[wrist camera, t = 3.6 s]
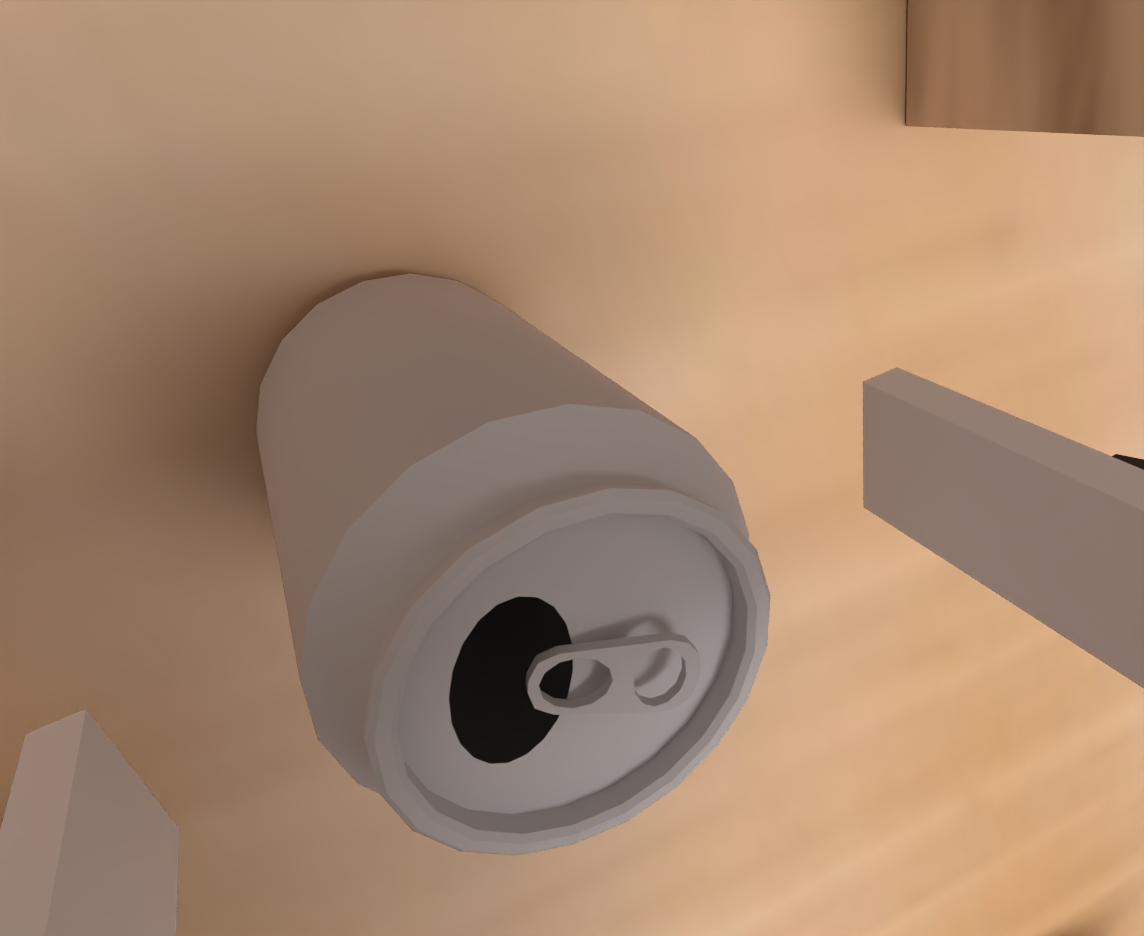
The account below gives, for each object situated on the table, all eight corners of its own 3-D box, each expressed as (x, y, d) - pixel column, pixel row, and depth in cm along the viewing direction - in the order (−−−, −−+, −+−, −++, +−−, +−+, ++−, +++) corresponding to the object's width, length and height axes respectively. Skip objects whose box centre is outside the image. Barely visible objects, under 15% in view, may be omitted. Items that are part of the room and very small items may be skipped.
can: (239, 265, 18) (294, 484, 8) (543, 267, 21) (864, 426, 11) (266, 550, 21) (330, 970, 11) (528, 516, 24) (767, 819, 14)
